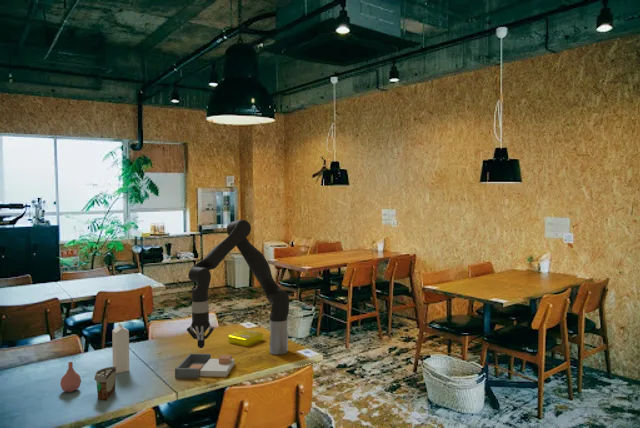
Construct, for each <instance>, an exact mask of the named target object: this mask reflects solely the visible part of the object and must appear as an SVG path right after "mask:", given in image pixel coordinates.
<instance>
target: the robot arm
mask: <svg viewBox="0 0 640 428" xmlns="http://www.w3.org/2000/svg"><path fill="white" fill-rule="evenodd" d="M251 231H252V226H251V224H250V222H249V221H248V220H245V219H238V220H234V221H233V220H232V221H231V222H229V223H228V224H227V226H226V233H227V235H228V236H227V237H226V238H224V239H223V240H222V241H221V242H219V243H218V244H217V245H215V246H214V247H212V249H211V250H210V251H209V252H208V253H207V254H206V256H204V258H202V259H201V260H199V261H198V262H197V263H195V264H194V265H193V266H192V267H191V268H190V270H189V271H188V279H189V280H190V281H191V282H193V283H197V287H194V288H193V289H192V292H191V293H192V294H191V301H192V302H191V324H190V326H188V327H187V328H186V331H187V332H188V334H189V335H190V336H191V337H192V338H193V340H197V347H198V348H199V349H203V348H204V347H205V343H206V342H205V340H207V339H208V338H209V337H210V335H211V334H212V333H213V331H214V330H215V329H216V327H215V326H212V325H211V323H210V316H209V315H210V313H209V312H210V311H209V309H210V307H209V288H210V284H211V279H212V274H211V271H210V270H215V269H216V268H217V267H219V264H221V262H223V260H224V259H225V257H227V255H228V254H230V252H232V251H233V250H234V248H235V247H237V249H238V250H239V253H240V254H241V256H242V257H243V259H244V261H245V262H246V264H247V266H248V268H249V269H250V271H251V273H252V274H253V276H254V277H255V278H256V280H257V281H258V283H259V285H260V286H261V288H262V290H263V291H264V294H265V296H266V299H267V301H268V302H269V304H271V305H272V310H271V313H270V314H269V353H270V354H271V355H275V356H276V355H277V356H279V355H286V354H288V350H289V334H288V316H289V314H290V296H289V292H287V291H286V290H284V289H282V288H280V287H279V286H278V284H277V282H276V281H275V280H274V277H273V275H272V270H271V267H270V264H269V262H268V260H267V259H266V256H264V254H263V253H262V252H261V251H260V250H259V249H258V248H257V247H256V246H254V245H253V244H251V242H250V241H249V239H248V238H247V237H248V236H249V235H250V234H251ZM207 330H208V332H207ZM206 332H207V333H206Z"/></svg>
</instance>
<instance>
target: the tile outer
mask: <svg viewBox="0 0 640 428" xmlns="http://www.w3.org/2000/svg"><path fill="white" fill-rule="evenodd" d="M190 368H195V369H199V374H200V370H201V369H202V368H203V365H201V364H192V365H191V367H190Z"/></svg>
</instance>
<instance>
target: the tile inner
mask: <svg viewBox="0 0 640 428" xmlns="http://www.w3.org/2000/svg"><path fill="white" fill-rule="evenodd" d="M232 355H233V354H220V356H219V357H218V359H219V364H229V363H230V362H231V360H232V359H233V357H232Z"/></svg>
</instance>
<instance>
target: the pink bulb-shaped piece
mask: <svg viewBox="0 0 640 428" xmlns="http://www.w3.org/2000/svg"><path fill="white" fill-rule="evenodd" d="M73 364H74V363H73V361H69V362H68V369H67V371H66V373H65V374H64V375H63V376H62V377H61V378H60V382H59V383H60V384H59V385H60V387H61V390H62V391H63V392H68V393H72V392H74V391H75V390H77V389H79V388H80V386H81V383H82V378H81V376H80V374H79V373H77V371H75V370H74V368H73V367H74V365H73Z"/></svg>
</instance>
